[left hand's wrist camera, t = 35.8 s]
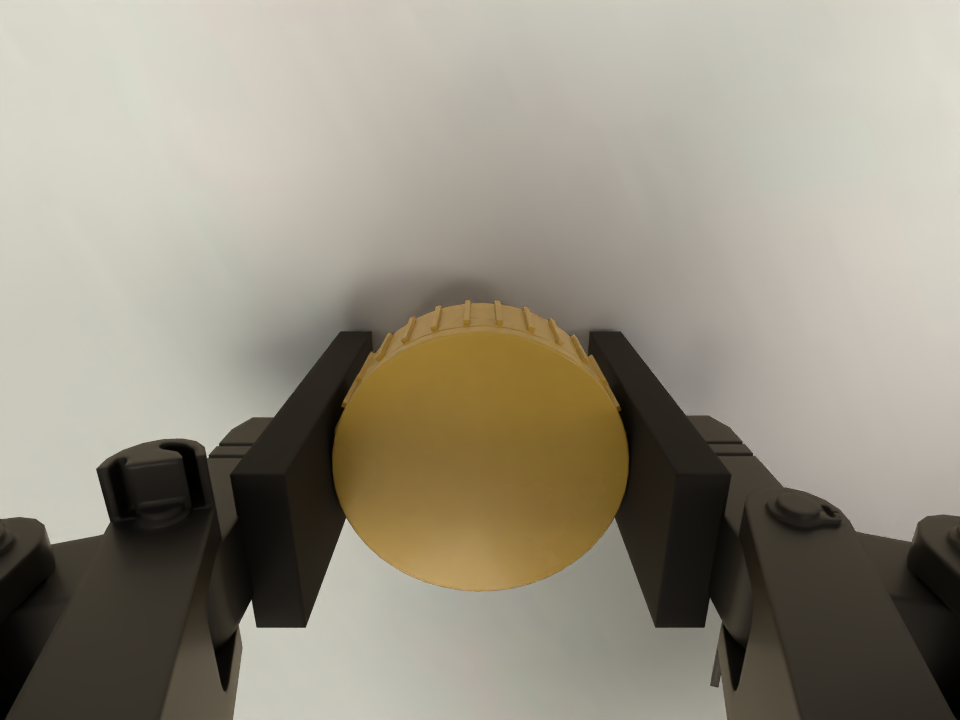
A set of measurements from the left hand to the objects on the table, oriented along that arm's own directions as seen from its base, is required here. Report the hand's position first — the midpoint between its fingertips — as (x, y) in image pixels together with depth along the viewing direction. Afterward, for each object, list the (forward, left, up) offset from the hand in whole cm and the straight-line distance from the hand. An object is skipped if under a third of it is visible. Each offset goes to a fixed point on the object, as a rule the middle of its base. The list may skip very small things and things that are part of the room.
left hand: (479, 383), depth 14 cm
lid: (0, 0, +4) cm, 4 cm away
